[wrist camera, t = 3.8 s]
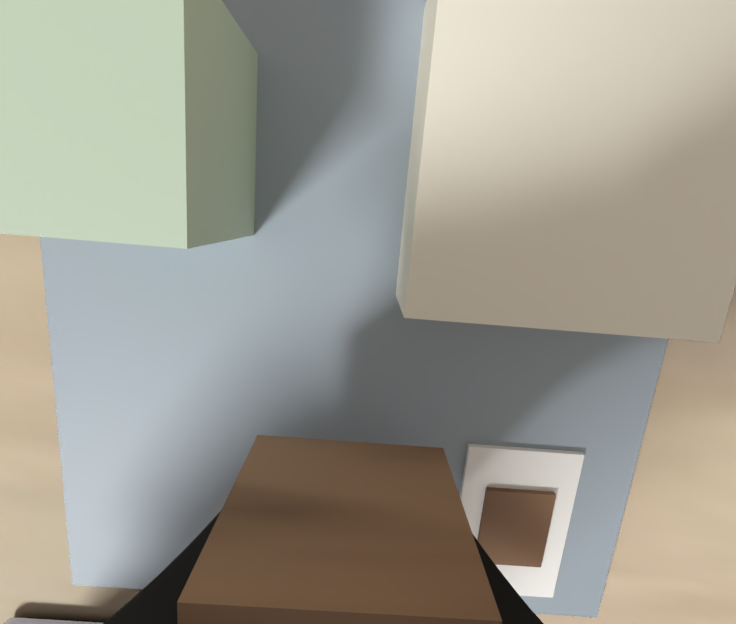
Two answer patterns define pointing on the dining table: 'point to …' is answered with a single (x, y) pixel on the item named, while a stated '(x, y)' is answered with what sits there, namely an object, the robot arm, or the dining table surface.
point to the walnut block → (340, 541)
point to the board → (328, 341)
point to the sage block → (127, 122)
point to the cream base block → (574, 167)
